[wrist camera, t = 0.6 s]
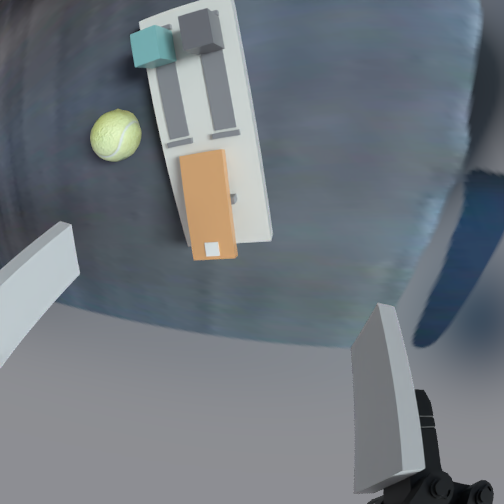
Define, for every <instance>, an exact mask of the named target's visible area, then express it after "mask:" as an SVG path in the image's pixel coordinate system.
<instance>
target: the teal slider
mask: <svg viewBox="0 0 504 504" xmlns="http://www.w3.org/2000/svg"><path fill="white" fill-rule="evenodd" d="M130 39H131V46H132V52H133V59H134V65H135V67H137V68H151V69H154V68H157V67H160V66H163V65H166V64H169V63H172V62H175V61H177V60H176V54H175V48H174V42H173V36H172V31H171V30H168V29H166V28H163V27H160V26H157V25H153V26H150V27H148V28H145V29H143V30H140V31H138V32H135V33H133V34H131V35H130Z"/></svg>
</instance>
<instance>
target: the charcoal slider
mask: <svg viewBox="0 0 504 504" xmlns="http://www.w3.org/2000/svg"><path fill="white" fill-rule="evenodd" d="M178 21H179V27H180V33H181V39H182V45H183V51H186V52H189V53H192V54H196V55H200V54H204V53H208V52H213V51H217V50H221V49H225V47H224V42H223V36H222V31H221V25H220V20H219V17H218V16H217V15H216V14H214V13H213V12H212V11H210V10H209V9H208V8H205V9H202V10H198V11H195V12H191V13H188V14H185V15H181V16H178Z"/></svg>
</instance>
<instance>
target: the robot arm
mask: <svg viewBox="0 0 504 504" xmlns="http://www.w3.org/2000/svg"><path fill="white" fill-rule="evenodd" d="M79 274H80V271H79V266H78V261H77V255H76V250H75V244H74V238H73V231H72V224H68V223H65V222H61V221H60V222H58V223H57V224H56V225H54V226H53V227H52V228H50V229H49V230H48V231H46V232H45V233H44V234H42V235H41V236H40V237H39V238H37V239H36V240H35V241H34V242H32V243H31V244H30V245H29V246H28V247H26V248H25V249H24V250H23V251H22V252H20V253H19V254H18V255H17V256H16V257H14V258H13V259H12V260H11V261H10V262H9V263H8V264H6V265H5V266H4V267H3V268H2V269H1V270H0V368H1V367H2V365H3V364H4V363H5V361H6V360H7V359H8V357H9V356H10V355H11V353H12V352H13V351H14V349H15V348H16V347H17V346H18V344H19V343H20V342H21V341H22V339H23V338H24V337H25V335H26V334H27V333H28V332H29V331H30V329H31V328H32V327H33V326H34V325H35V323H36V322H37V321H38V320H39V319H40V317H41V316H42V315H43V314H44V313H45V312H46V310H47V309H48V308H49V307H50V306H51V305H52V304H53V302H54V301H55V300H56V299H57V298H58V297H59V296H60V295H61V294H62V293H63V291H64V290H65V289H66V288H67V287H68V286H69V285H70V284H71V283H72V282H73V281H74V280H75V279H76V277H77V276H78V275H79ZM351 356H352V357H351V358H352V373H353V389H354V419H355V469H354V494H360V493H361V494H363V493H375V492H378V491H380V490H382V489H384V495H383V496H380V497H378V498H375V499H372V500H371V501H370V502H368V503H367V504H374V503H375V504H492V502H493V495H494V493H493V488H492V486H491V484H490V483H489V482H487V481H486V480H481V481H479V482H477V483H475V484H473V485H465V484H460V483H456V482H453V481H452V478H451V477H450V476H449V475H448V473H446V472H443V471H442V469H441V464H440V457H439V449H438V441H437V435H436V429H435V428H434V427H435V422H434V418H433V411H432V407H431V402H430V400H429V398H428V396H427V395H426V393H425V391H424V390H415V389H414V385H413V380H412V376H411V371H410V366H409V362H408V358H407V353H406V349H405V345H404V341H403V337H402V333H401V329H400V325H399V322H398V318H397V314H396V311H395V307H394V306H390V305H386V304H381V303H377V305H376V307H375V308H374V310H373V312H372V314H371V315H370V317H369V319H368V321H367V322H366V324H365V326H364V327H363V329H362V331H361V332H360V334H359V336H358V337H357V339H356V340H355V342H354V344H353V345H352V347H351Z"/></svg>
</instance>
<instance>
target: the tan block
mask: <svg viewBox="0 0 504 504" xmlns="http://www.w3.org/2000/svg"><path fill="white" fill-rule="evenodd" d="M179 159H180V168H181V176H182V184H183V192H184V199H185V206H186V213H187V220H188V227H189V233H190V240H191V246H192V252H193V258H194V260H209V259H230V258H236V257H237V255H238V253H237V246H236V238H235V230H234V222H233V214H232V206H231V197H230V189H229V181H228V172H227V164H226V155H225V150H223V149H219V150H213V151H207V152H201V153H196V154H190V155H185V156H180V157H179Z"/></svg>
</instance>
